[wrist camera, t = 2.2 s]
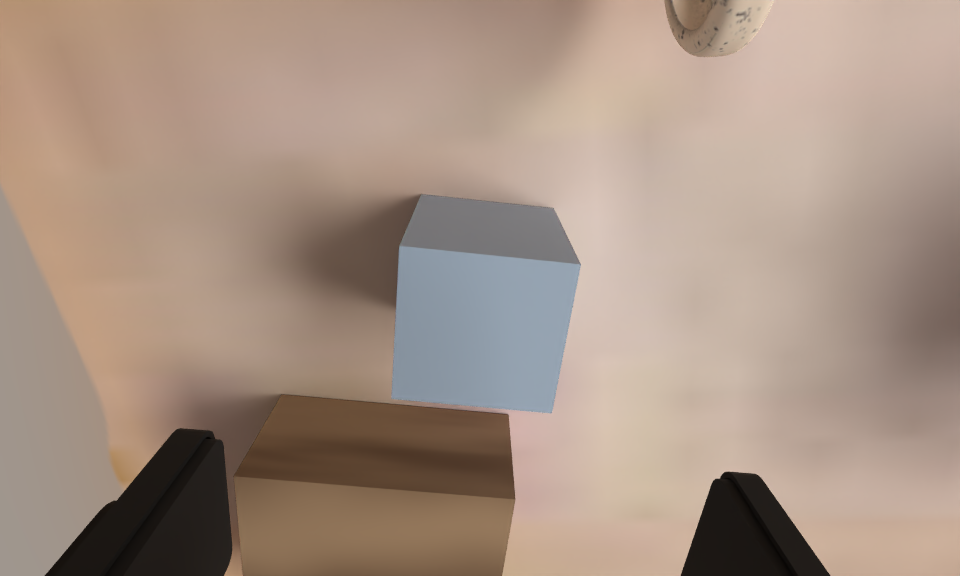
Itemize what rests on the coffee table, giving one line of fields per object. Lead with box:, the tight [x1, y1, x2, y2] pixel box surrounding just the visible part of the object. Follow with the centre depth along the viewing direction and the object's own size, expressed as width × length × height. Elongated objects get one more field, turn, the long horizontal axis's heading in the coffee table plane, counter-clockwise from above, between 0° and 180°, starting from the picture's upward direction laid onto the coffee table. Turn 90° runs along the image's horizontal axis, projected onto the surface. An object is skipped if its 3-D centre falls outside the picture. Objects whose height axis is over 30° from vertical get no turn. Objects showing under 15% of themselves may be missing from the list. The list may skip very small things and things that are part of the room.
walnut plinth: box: [234, 395, 515, 576], centre depth 23 cm, size 10×10×5 cm
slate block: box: [391, 194, 581, 413], centre depth 18 cm, size 5×5×6 cm
